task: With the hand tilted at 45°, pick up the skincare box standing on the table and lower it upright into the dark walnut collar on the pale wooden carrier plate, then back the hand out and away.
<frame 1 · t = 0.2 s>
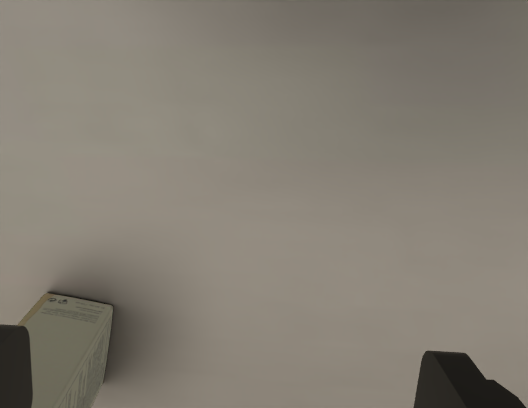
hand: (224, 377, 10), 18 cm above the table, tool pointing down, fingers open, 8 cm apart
skincare box: (78, 339, 30), on the table
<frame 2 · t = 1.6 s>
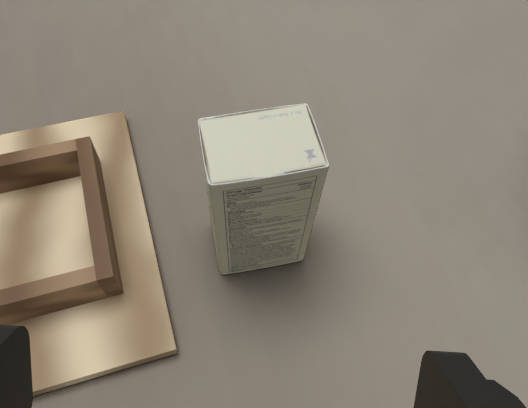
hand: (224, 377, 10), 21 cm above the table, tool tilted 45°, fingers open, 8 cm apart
skincare box: (255, 244, 35), on the table
carrier plate: (35, 247, 34), on the table
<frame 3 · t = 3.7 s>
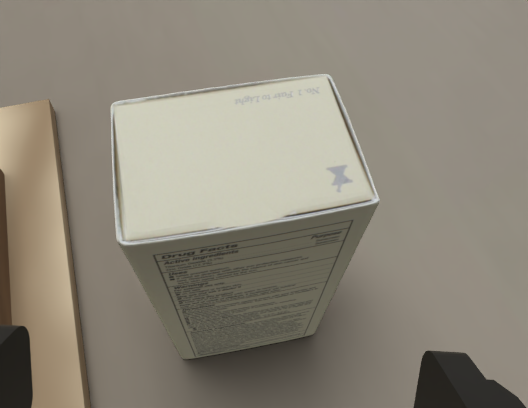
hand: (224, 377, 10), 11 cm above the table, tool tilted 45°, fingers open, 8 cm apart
skincare box: (239, 307, 22), on the table
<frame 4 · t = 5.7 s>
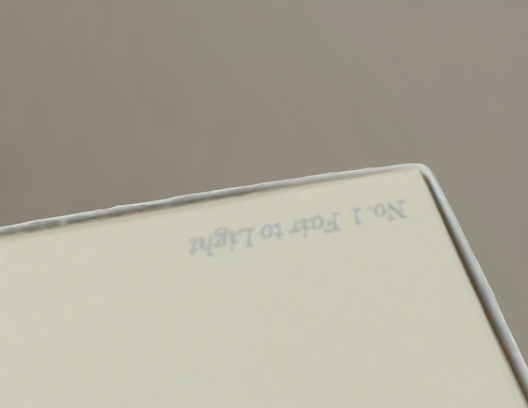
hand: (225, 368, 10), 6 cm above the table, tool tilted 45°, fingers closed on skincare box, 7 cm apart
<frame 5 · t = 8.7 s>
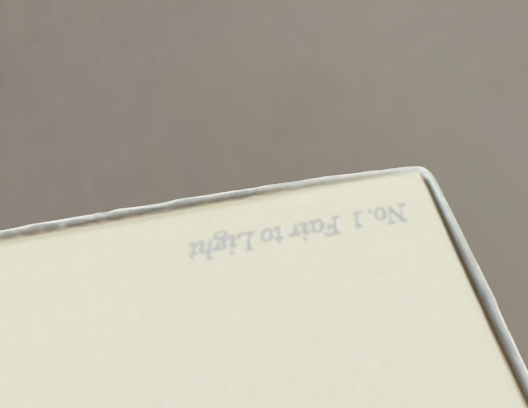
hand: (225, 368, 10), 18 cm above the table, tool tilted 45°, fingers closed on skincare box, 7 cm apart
when the fingers open (8 cm above the table, at t = 11.7 s): skincare box drops 1 cm, resting on carrier plate.
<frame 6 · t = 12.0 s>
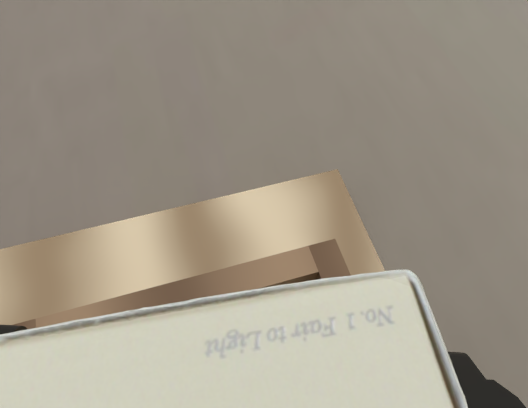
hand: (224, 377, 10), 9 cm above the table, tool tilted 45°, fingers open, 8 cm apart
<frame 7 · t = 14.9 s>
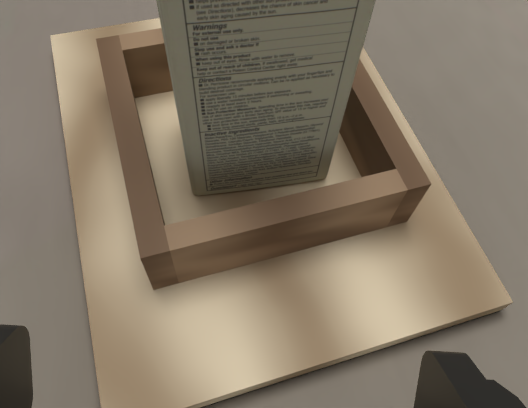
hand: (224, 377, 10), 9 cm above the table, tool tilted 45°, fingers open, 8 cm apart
skincare box: (251, 155, 22), point 1 cm above the table, touching carrier plate
carrier plate: (248, 162, 23), on the table
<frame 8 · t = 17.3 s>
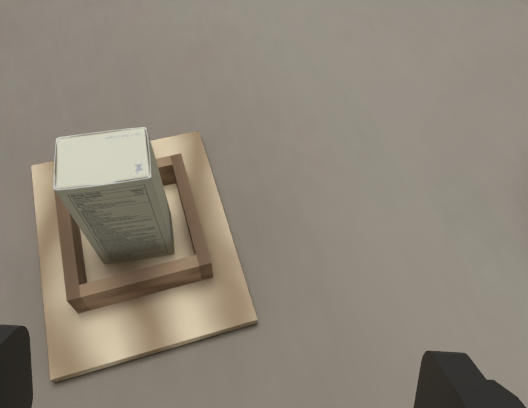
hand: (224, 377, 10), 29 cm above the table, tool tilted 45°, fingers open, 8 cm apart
skincare box: (137, 239, 42), point 1 cm above the table, touching carrier plate
carrier plate: (137, 241, 43), on the table
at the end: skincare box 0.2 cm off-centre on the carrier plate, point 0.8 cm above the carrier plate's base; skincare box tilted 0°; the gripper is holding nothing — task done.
